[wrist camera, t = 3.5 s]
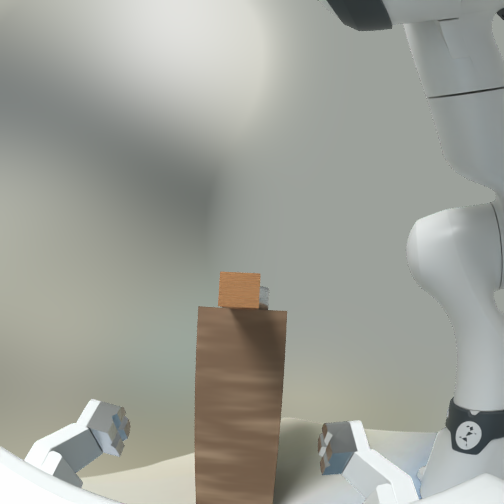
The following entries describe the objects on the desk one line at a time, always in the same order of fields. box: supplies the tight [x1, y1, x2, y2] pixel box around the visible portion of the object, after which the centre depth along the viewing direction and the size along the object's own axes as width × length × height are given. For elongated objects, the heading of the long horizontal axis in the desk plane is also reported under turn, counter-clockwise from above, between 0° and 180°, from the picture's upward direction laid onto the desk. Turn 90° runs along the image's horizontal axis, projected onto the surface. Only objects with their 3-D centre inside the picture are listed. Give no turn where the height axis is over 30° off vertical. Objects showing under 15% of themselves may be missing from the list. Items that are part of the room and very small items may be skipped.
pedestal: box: [195, 306, 287, 504], centre depth 34 cm, size 14×9×26 cm, turn 0°
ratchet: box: [218, 272, 269, 310], centre depth 31 cm, size 22×6×4 cm, turn 0°
